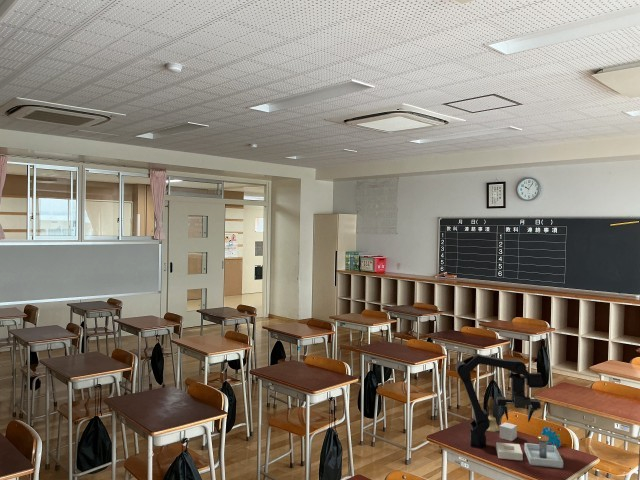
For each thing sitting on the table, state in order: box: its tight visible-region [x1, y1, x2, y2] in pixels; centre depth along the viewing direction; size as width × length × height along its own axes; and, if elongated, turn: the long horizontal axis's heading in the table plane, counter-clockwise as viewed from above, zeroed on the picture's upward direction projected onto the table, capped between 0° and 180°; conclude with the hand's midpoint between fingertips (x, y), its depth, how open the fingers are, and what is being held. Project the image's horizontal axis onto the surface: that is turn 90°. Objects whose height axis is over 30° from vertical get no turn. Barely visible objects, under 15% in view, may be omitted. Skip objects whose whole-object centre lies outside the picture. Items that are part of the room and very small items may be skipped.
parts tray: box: [523, 442, 564, 469], centre depth 229 cm, size 13×16×3 cm
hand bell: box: [486, 396, 500, 433], centre depth 264 cm, size 8×8×16 cm
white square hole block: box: [495, 441, 524, 461], centre depth 233 cm, size 10×10×3 cm
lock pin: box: [537, 434, 549, 459], centre depth 229 cm, size 4×4×9 cm
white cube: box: [499, 422, 518, 442], centre depth 252 cm, size 6×6×6 cm
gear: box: [541, 426, 562, 449], centre depth 245 cm, size 11×6×10 cm
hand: (518, 420), depth 242 cm, fingers open, 9 cm apart
